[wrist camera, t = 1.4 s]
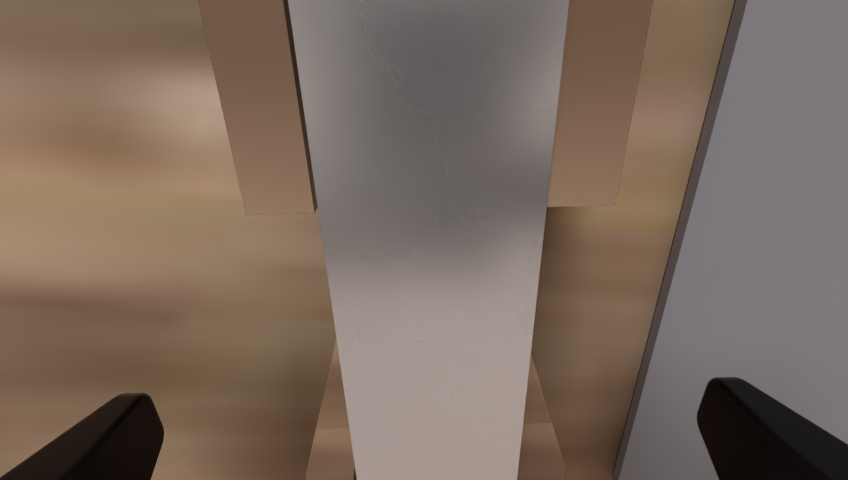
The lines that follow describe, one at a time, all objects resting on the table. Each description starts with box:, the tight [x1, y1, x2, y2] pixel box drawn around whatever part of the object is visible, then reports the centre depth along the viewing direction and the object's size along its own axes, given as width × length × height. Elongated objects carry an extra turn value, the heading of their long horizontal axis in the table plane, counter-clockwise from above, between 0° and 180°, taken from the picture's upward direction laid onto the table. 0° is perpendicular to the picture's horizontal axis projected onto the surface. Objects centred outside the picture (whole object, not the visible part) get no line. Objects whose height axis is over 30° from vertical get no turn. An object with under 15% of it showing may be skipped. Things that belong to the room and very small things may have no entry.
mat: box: [613, 0, 848, 480], centre depth 12 cm, size 20×8×1 cm, turn 1°
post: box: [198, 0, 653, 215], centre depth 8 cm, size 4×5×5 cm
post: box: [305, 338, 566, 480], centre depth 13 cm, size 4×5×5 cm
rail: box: [288, 0, 569, 480], centre depth 8 cm, size 17×3×3 cm, turn 1°
